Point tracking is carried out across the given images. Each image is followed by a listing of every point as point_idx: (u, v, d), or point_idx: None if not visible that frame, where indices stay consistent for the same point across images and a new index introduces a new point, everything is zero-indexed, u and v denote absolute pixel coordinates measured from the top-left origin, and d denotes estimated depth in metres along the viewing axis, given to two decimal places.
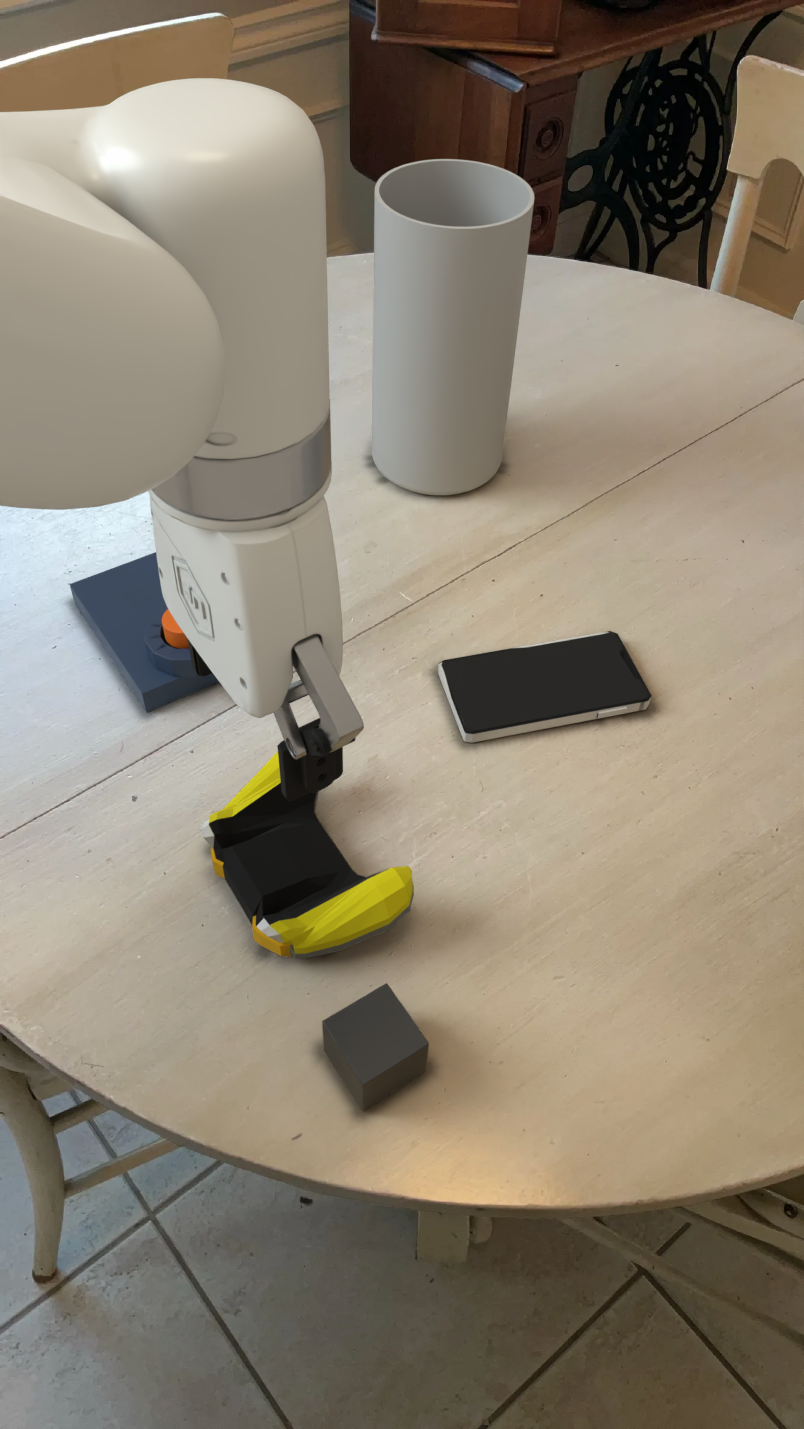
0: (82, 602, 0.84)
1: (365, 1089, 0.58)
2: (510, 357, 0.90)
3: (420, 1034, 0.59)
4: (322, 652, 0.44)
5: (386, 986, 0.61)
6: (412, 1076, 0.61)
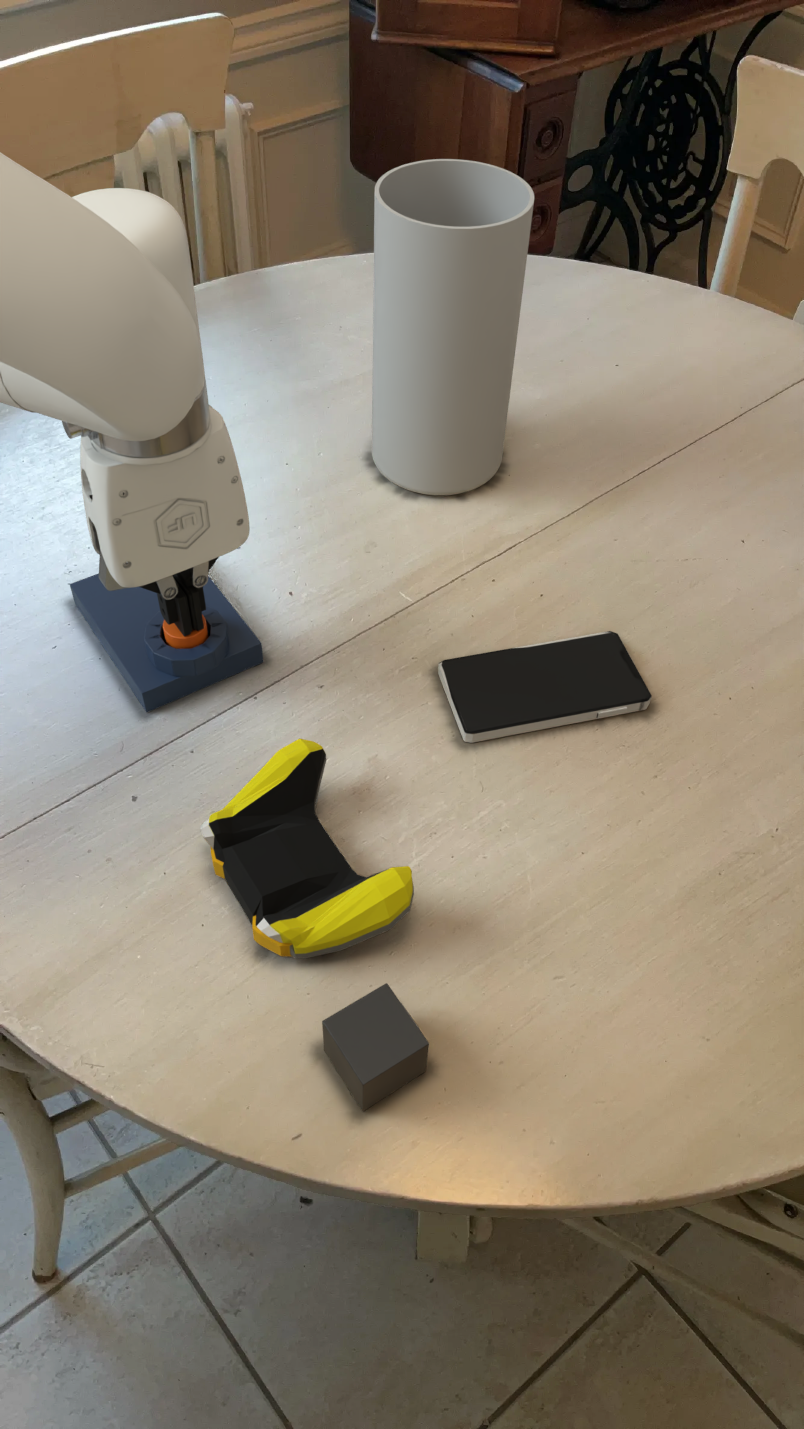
0: (82, 602, 0.84)
1: (365, 1089, 0.58)
2: (510, 357, 0.90)
3: (420, 1034, 0.59)
4: None
5: (386, 986, 0.61)
6: (412, 1076, 0.61)
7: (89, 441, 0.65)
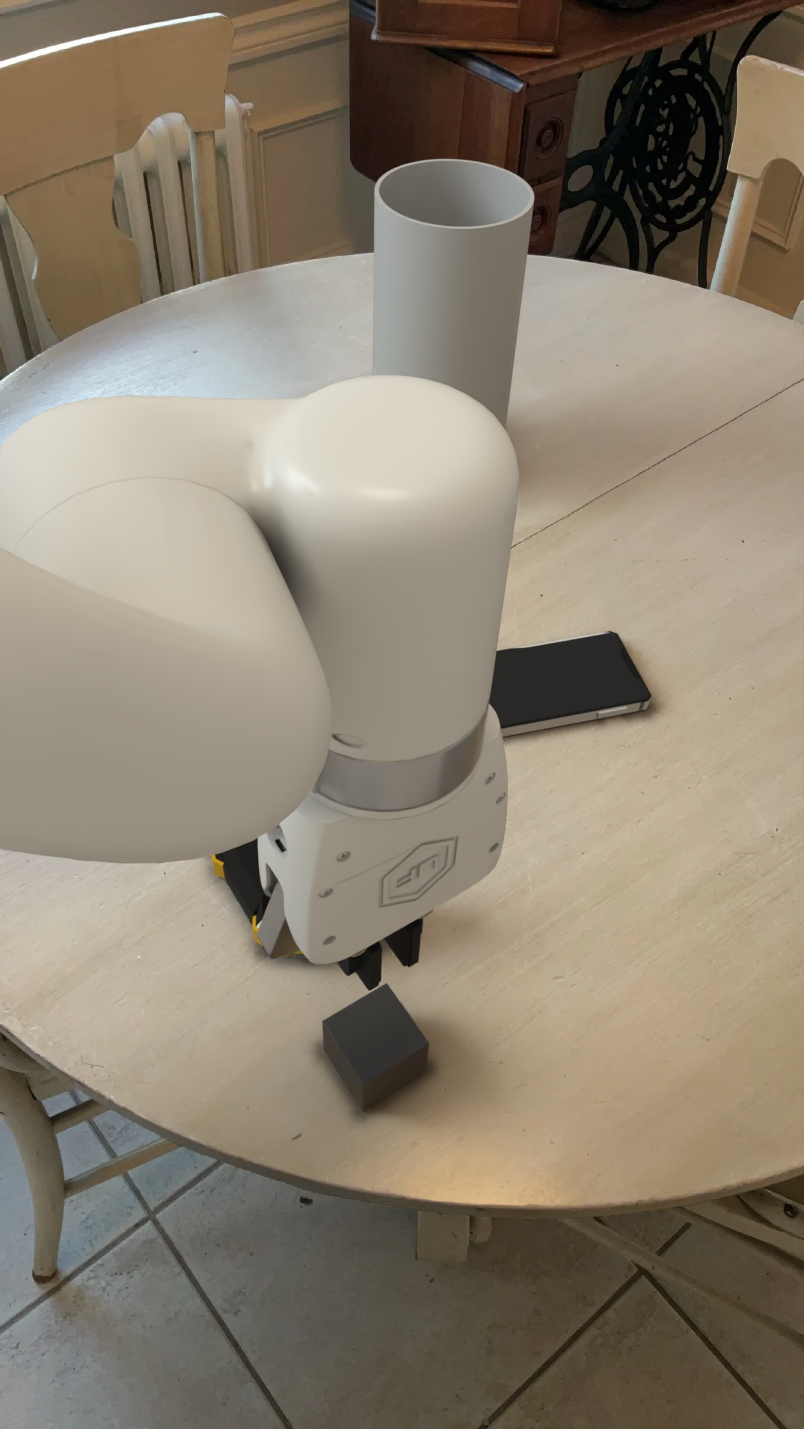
0: None
1: (365, 1089, 0.58)
2: (510, 357, 0.90)
3: (420, 1034, 0.59)
4: None
5: (386, 986, 0.61)
6: (412, 1076, 0.61)
7: None
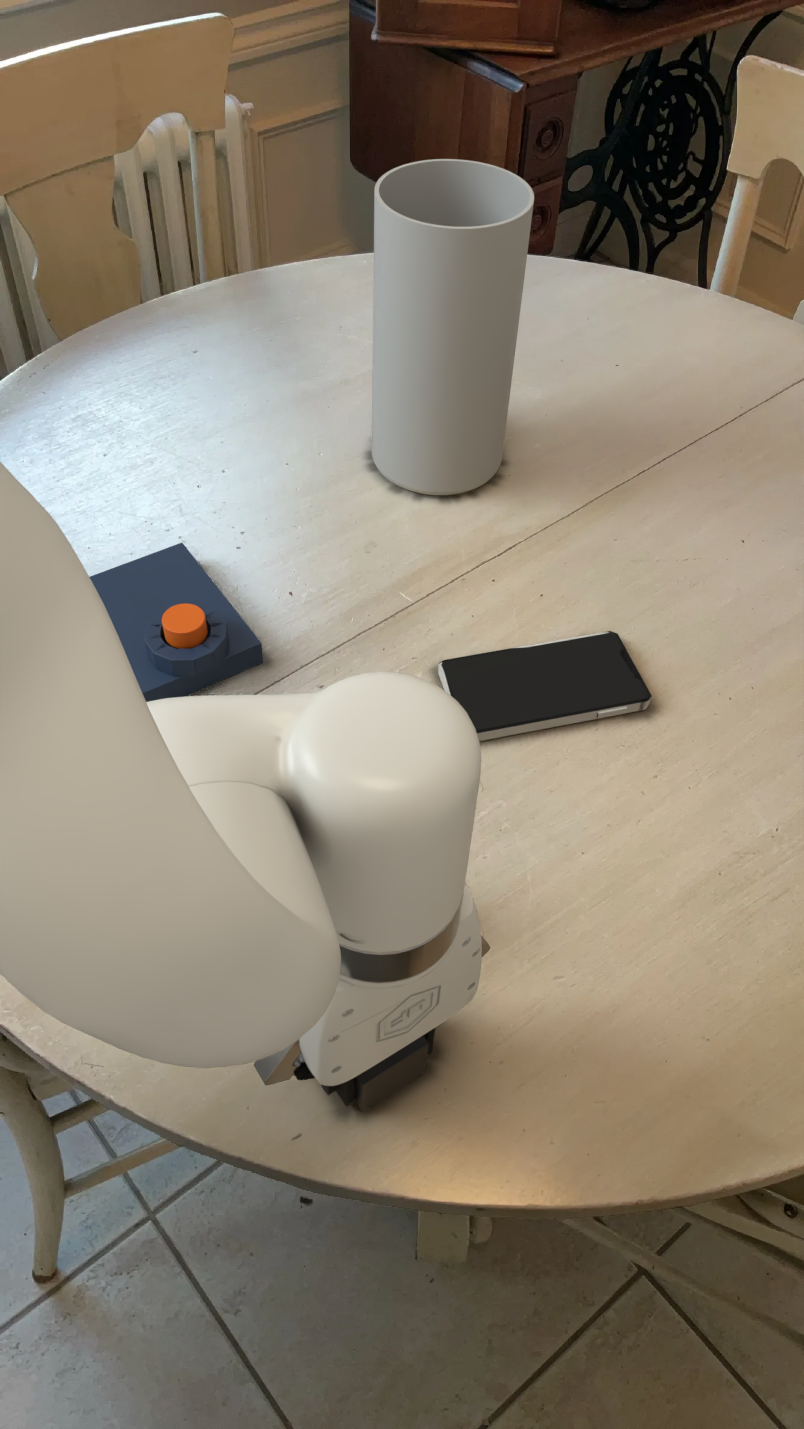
0: None
1: (364, 1089, 0.58)
2: (510, 357, 0.90)
3: None
4: None
5: None
6: (412, 1076, 0.61)
7: None
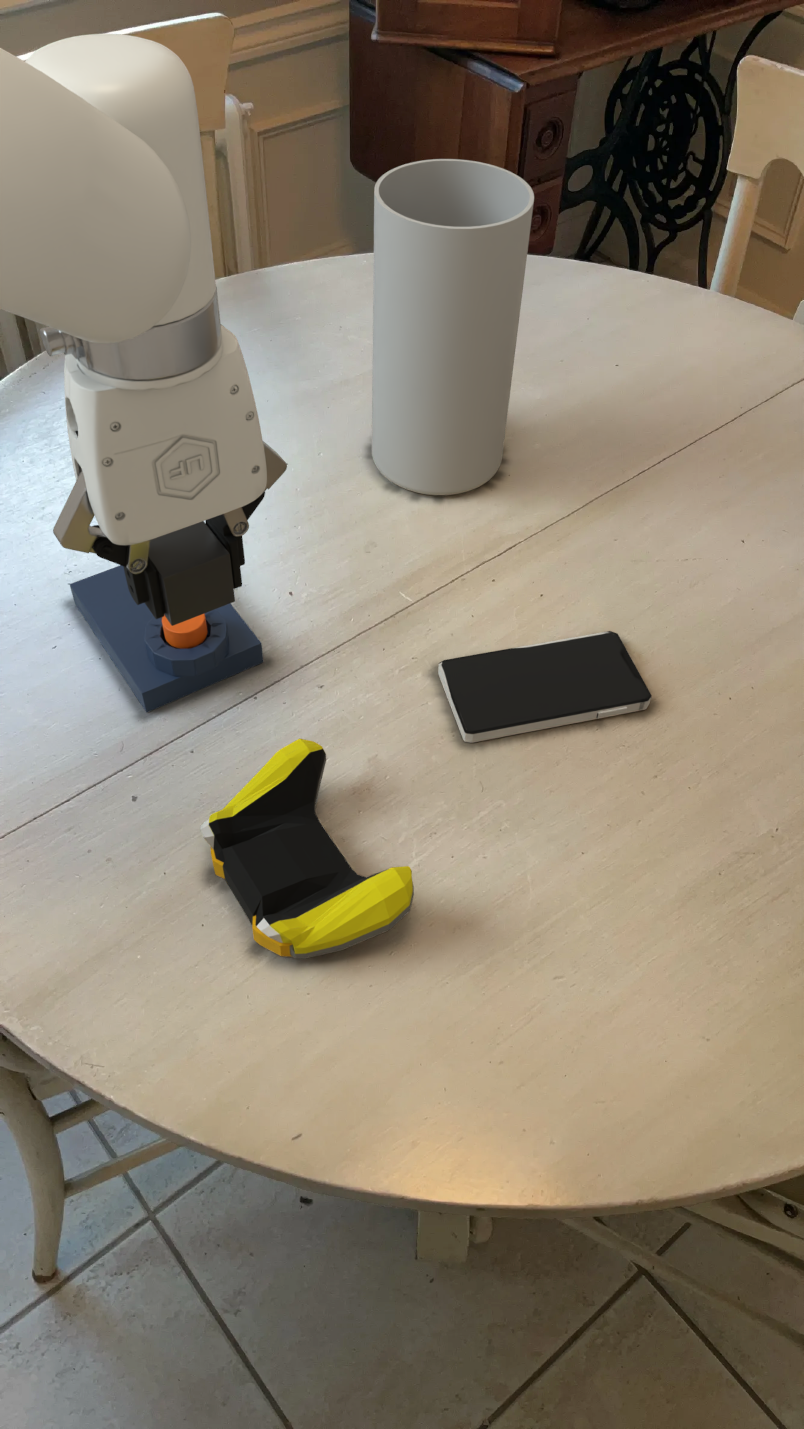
0: (82, 602, 0.84)
1: (167, 587, 0.63)
2: (510, 357, 0.90)
3: (222, 547, 0.64)
4: None
5: None
6: (221, 599, 0.66)
7: (75, 362, 0.54)
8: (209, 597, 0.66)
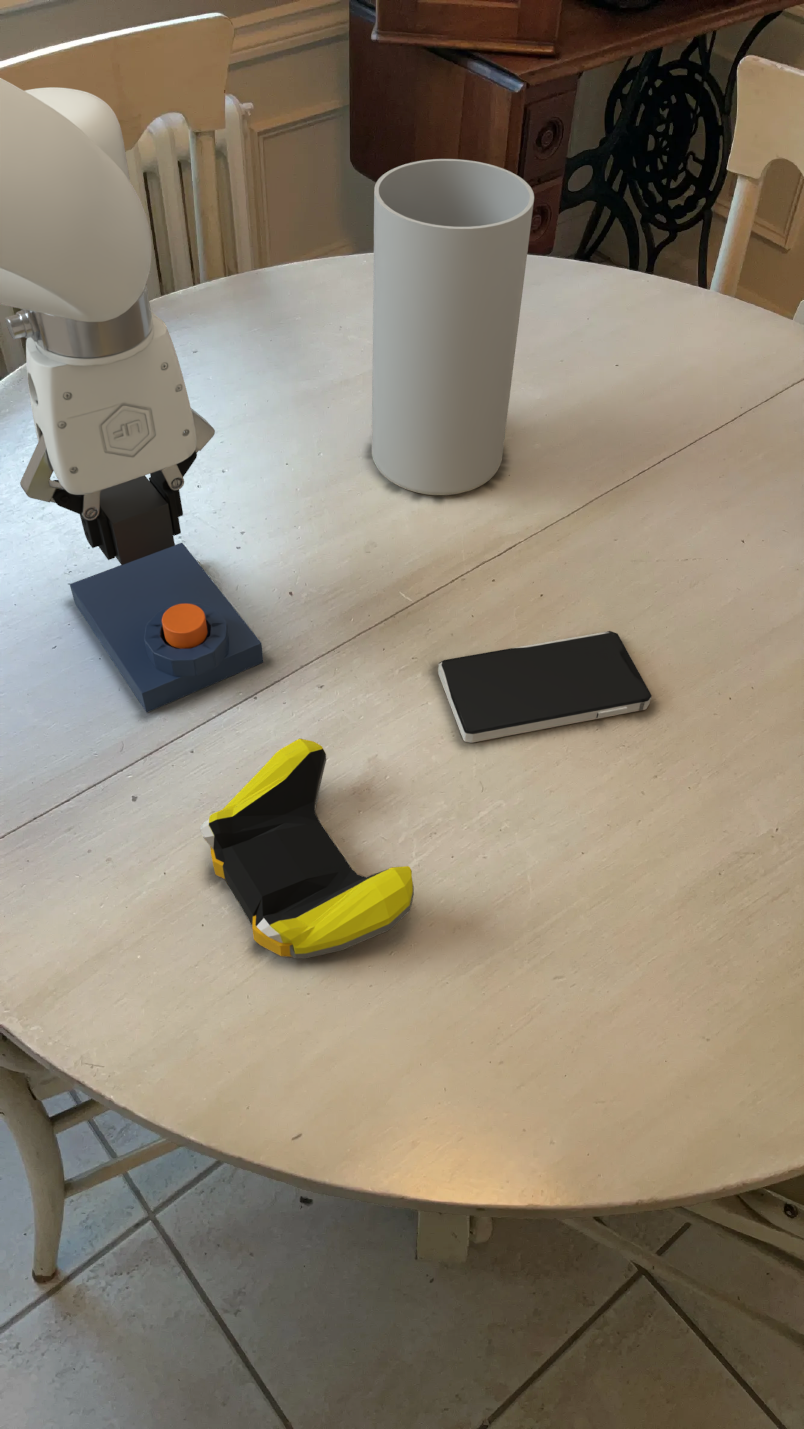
0: (82, 602, 0.84)
1: (116, 531, 0.76)
2: (510, 357, 0.90)
3: (162, 499, 0.78)
4: None
5: None
6: (162, 543, 0.80)
7: (34, 345, 0.67)
8: (152, 541, 0.79)
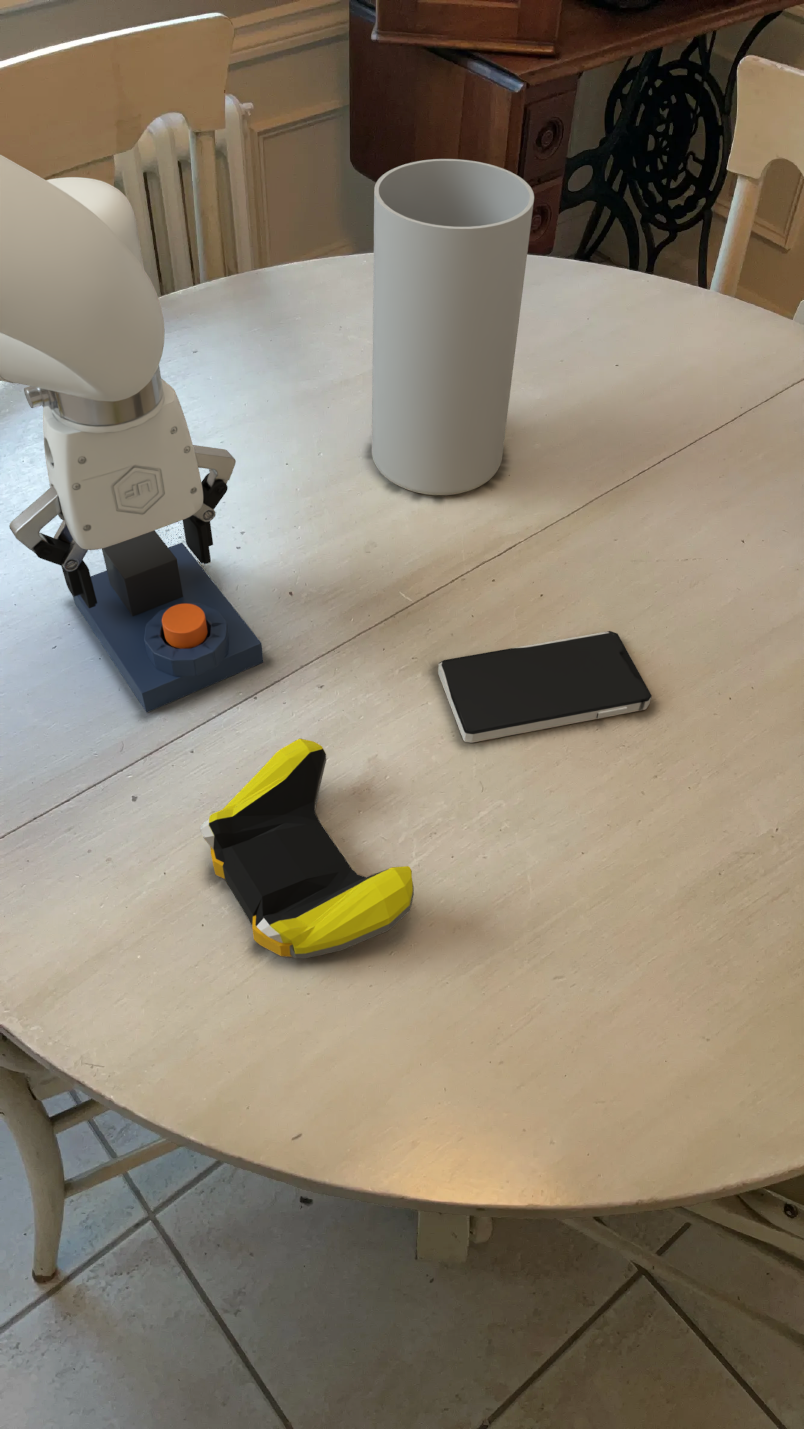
0: (82, 602, 0.84)
1: (127, 585, 0.80)
2: (510, 357, 0.90)
3: (171, 554, 0.82)
4: None
5: None
6: (171, 595, 0.84)
7: (50, 411, 0.70)
8: (162, 593, 0.83)
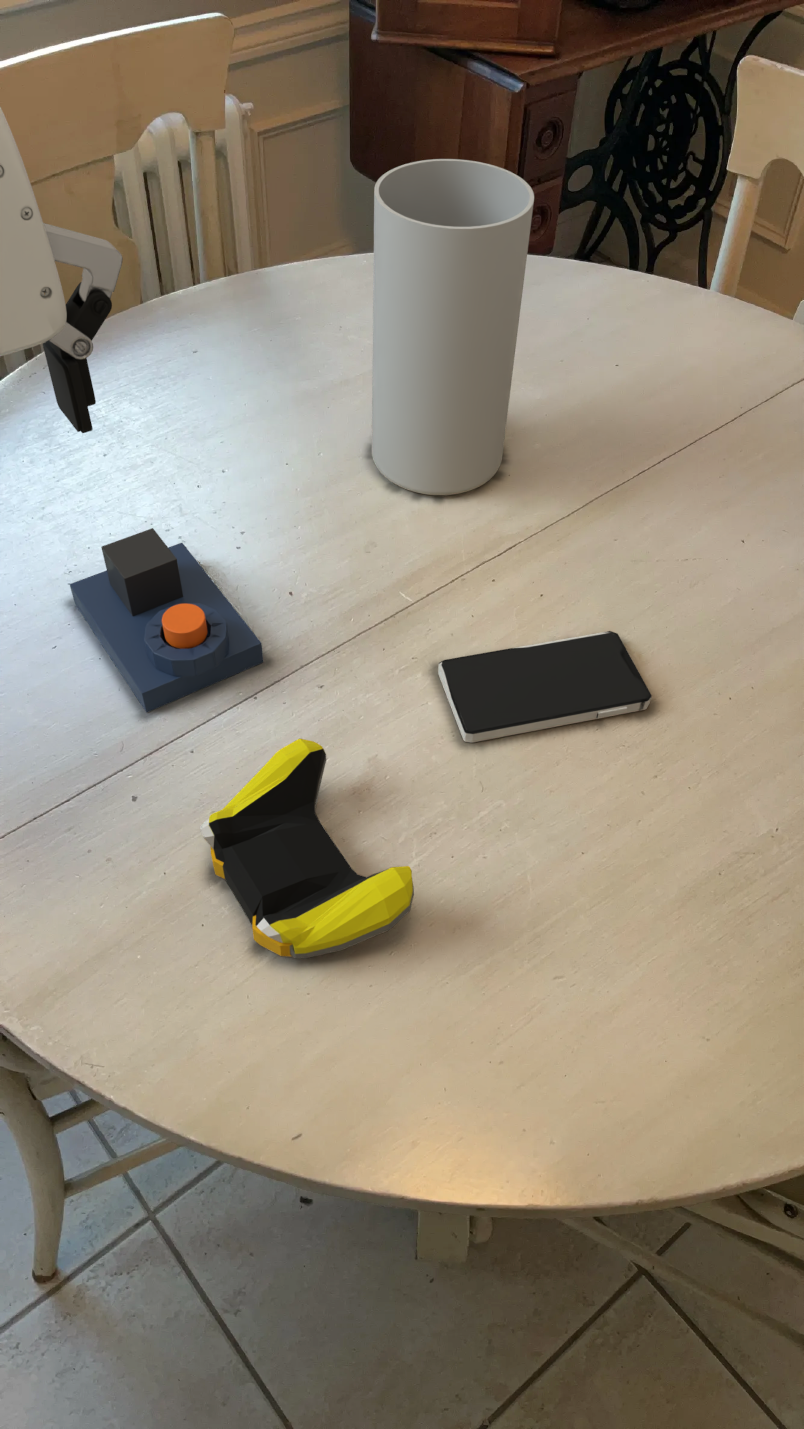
0: (82, 602, 0.84)
1: (127, 585, 0.80)
2: (510, 357, 0.90)
3: (171, 554, 0.82)
4: (44, 223, 0.48)
5: (152, 529, 0.84)
6: (171, 595, 0.84)
7: None
8: (162, 593, 0.83)
